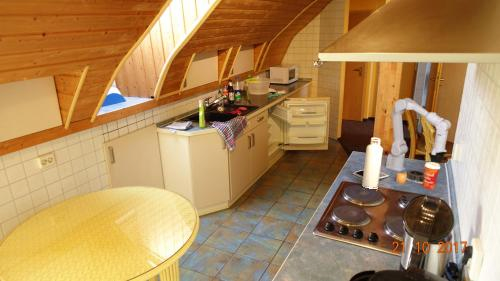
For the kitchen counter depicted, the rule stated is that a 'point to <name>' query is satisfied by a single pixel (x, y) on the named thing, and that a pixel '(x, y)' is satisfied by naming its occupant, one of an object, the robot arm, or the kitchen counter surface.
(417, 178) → the dark brown round dish
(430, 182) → the paper cup
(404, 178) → the tan rounded lump
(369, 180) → the bottle
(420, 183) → the mat
